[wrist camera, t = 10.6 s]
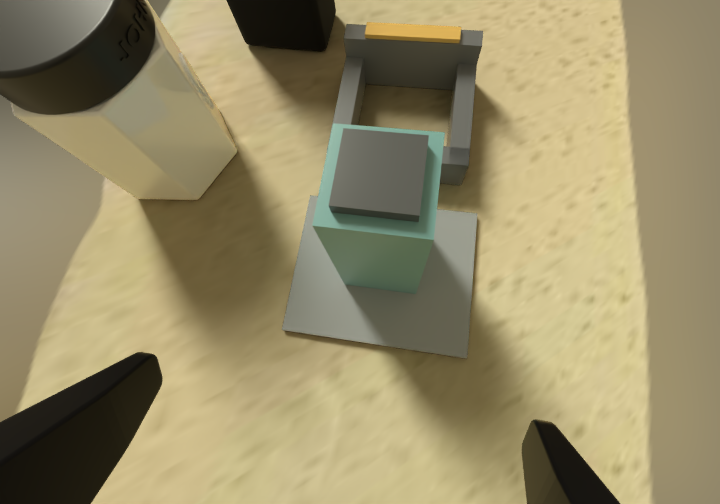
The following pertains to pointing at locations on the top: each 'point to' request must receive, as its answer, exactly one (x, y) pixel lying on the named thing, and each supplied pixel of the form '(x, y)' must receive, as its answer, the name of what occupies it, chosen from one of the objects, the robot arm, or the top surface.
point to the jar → (113, 94)
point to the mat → (389, 294)
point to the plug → (379, 204)
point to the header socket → (415, 76)
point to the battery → (285, 22)
